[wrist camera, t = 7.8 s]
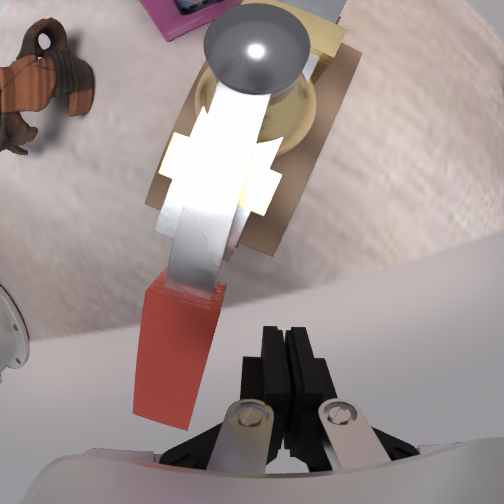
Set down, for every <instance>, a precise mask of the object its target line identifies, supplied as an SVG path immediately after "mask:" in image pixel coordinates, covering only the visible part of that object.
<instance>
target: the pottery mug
mask: <svg viewBox="0 0 504 504" xmlns="http://www.w3.org/2000/svg"><path fill="white" fill-rule="evenodd" d="M42 33H43V34H45V35H47V36H48V37H49V39H50V41H51V44H50V47H49V48H47V49H45V50H43V49H42V48H41V47H40V45H39V42H38V37H39V35H40V34H42ZM38 57H43V58H41V59H39V60H38ZM92 78H93V77H92V74H91V69H90V66H89V65H88V64H87V63H86V62H85V61H83V60H80V59H78V58H77V57H75V56H72V55H71V54H70V51H69V50H68V47H67V36H66V32H65V30H64V28H63V26H62V24H61V23H60V22H58V21H57V20H56V19H53V18H49V19H41V20H39V21H37V22H36V23H35V24H33V25H32V26H31V27H30V28H29V29H28V30H27V32H26V34H25V36H24V39H23V43H22V47H21V50H20V53H19V54H18V56H17V58H16V61H14V62H12V64H11V65H10V66H9V67H0V152H1V151H2V150H5V149H7V150H10V151H11V152H12V153H16V154H19V155H27V154H28V151H27V150H24V149H22V148H20V147H19V145H23V144H25V143H26V142H30V141H32V140H33V139H34V138H35V136H36V135H37V133H38V129H37V128H36V127H30V126H29V125H28V124H27V123H26V122H25V121H24V120H23V119H22V117H21V115H20V113H19V111H34V112H39V111H40V110H42V109H44V108H45V107H46V106H47V105H48V104H49V102H50V100H51V98H52V97H57V96H59V95H62V94H69V99H70V101H69V111H68V115H69V116H77V115H79V114H84V113H88V112H89V111H90V107H91V103H92V92H93V90H92V88H93V82H92Z"/></svg>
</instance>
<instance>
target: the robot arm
mask: <svg viewBox="0 0 504 504" xmlns="http://www.w3.org/2000/svg"><path fill="white" fill-rule="evenodd" d="M29 352H30V350H29V340H28V335H27V332H26V329H25V326H24V323H23V321H22V319H21V316H20V314H19V312H18V310H17V308H16V307H15V305H14V303H13V302H12V300H11V299H10V297H9V296H8V295H7V293H6V292H5V291H4V289H3V288H2V287H1V286H0V373H1V372H2V371H3V370H4V369H5V368H6V367H9V368H13V369H16V368H20V367H22V366H23V365H24V364H25V363H26V362H27V360H28V357H29ZM1 382H2V379H1V374H0V384H1ZM240 393H241V394H240V400H239V401H237V402H234V403H233V404H232V405H230V407H229V408H228V410H227V412H226V415H225V418H224V421H223V422H222V423H220V424H218V425H217V426H215V427H213V428H211V429H209V430H207V431H205V432H203V433H202V434H200V435H198V436H196V437H194V438H192V439H190V440H188V441H186V442H184V443H182V444H180V445H178V446H176V447H174V448H171V449H170V450H168V451H166V452H165V453H164V454H154V452H153V451H130V450H115V449H104V448H93V449H90V450H88V451H86V452H85V453H84V454H76V455H67V456H62V457H59V458H56V459H55V460H53V461H51V462H50V463H49V464H47V465H46V466H45V467H44V468H43V469H42V470H41V472H40V473H39V475H37V477H36V478H35V479H34V481H33V482H32V484H31V486H30V487H29V489H28V490H27V492H26V494H25V495H24V497H23V499H22V501H21V502H20V504H504V437H486V438H479V439H474V440H470V441H466V442H456V443H445V444H434V445H433V444H432V445H419V446H418V447H417V448H415V447H414V446H412V445H410V444H409V443H406V442H404V441H402V440H400V439H397V438H395V437H393V436H391V435H388V434H386V433H384V432H382V431H380V430H378V429H375V428H373V427H371V426H370V425H369V423H368V421H367V419H366V418H365V416H364V414H363V413H362V411H361V409H360V408H359V407H358V406H357V405H356V404H355V403H353V402H352V401H349V400H346V399H340V398H337V394H336V392H335V388H334V385H333V382H332V379H331V376H330V373H329V370H328V367H327V364H326V361H325V359H324V358H314V355H313V352H312V348H311V345H310V341H309V338H308V334H307V331H306V328H305V327H291V330H286V335H285V342H284V337H283V332H282V330H278V328H277V326H264V327H263V337H262V349H261V357H243V364H242V378H241V392H240ZM283 439H284V448H285V449H290V457H296V458H298V459H299V460H301V461H302V462H303V463H302V468H303V471H304V473H289V474H288V473H287V474H264V473H265V467H266V465H267V464H269V463H270V462H271V461H272V460H274V459H275V458H276V457H277V454H278V449H281V444H282V440H283Z"/></svg>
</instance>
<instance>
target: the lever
mask: <svg viewBox="0 0 504 504" xmlns="http://www.w3.org/2000/svg"><path fill="white" fill-rule="evenodd" d="M310 48H311V44H310V38H309V35H308V32H307V30H306V28H305V27H304V25H303V24H302V23H301V21H300V20H299V19H298V18H297V17H295V16H294V15H293V14H291V13H290V12H288V11H287V10H285V9H283V8H280V7H278V6H274V5H270V4H264V3H249V4H243V5H239V6H236V7H233V8H231V9H229V10H227V11H225V12H223V13H222V14H220V15H219V16H218V17H217V18H216V19H215V20H214V21H213V22H212V23H211V25H210V26H209V28H208V30H207V32H206V35H205V38H204V53H205V56H206V59H207V61H208V64H209V66H210V68H211V71H212V73H213V75H214V77H215V80H216V82H217V84H218V85H217V88H216V91H215V94H214V97H213V100H212V103H211V106H210V109H209V112H208V115H207V118H206V122H205V125H204V128H203V131H202V135H201V138H200V141H199V145H198V148H197V151H196V155H195V158H194V162H193V165H192V169H191V173H190V176H189V180H188V184H187V187H186V191H185V195H184V199H183V203H182V207H181V211H180V215H179V219H178V223H177V228H176V232H175V236H174V241H173V245H172V250H171V254H170V259H169V264H168V267H166V268H165V269H164V271H163V272H162V273H161V274H160V275H159V276H158V277H157V279H156V280H155V281H154V282H153V283H152V284H151V286H150V287H149V288H148V289H147V290H146V293H145V300H144V306H143V313H142V321H141V328H140V337H139V345H138V355H137V364H136V375H135V389H134V402H133V414H136V415H138V416H141V417H144V418H147V419H150V420H153V421H156V422H159V423H163V424H166V425H169V426H172V427H176V428H180V429H183V430H188V427H189V423H190V419H191V416H192V412H193V408H194V405H195V401H196V397H197V394H198V390H199V386H200V383H201V379H202V375H203V372H204V368H205V365H206V361H207V357H208V354H209V350H210V347H211V343H212V340H213V336H214V332H215V329H216V325H217V322H218V318H219V315H220V311H221V307H222V302H223V298H224V294H225V290H226V284H223V283H219V282H216V280H217V276H218V273H219V269H220V265H221V262H222V258H223V255H224V251H225V248H226V244H227V240H228V237H229V233H230V230H231V226H232V223H233V219H234V216H235V212H236V209H237V206H238V202H239V199H240V195H241V192H242V188H243V185H244V182H245V178H246V175H247V172H248V168H249V165H250V162H251V158H252V155H253V152H254V149H255V145H256V142H257V139H258V136H259V132H260V129H261V126H262V123H263V120H264V116H265V113H266V110H267V107H268V106H272V105H274V104H277V103H279V102H280V101H282V100H283V99H285V98H286V97H287V96H288V95H289V94H290V93H291V92H292V90H293V89H294V87H295V85H296V83H297V81H298V79H299V77H300V75H301V73H302V71H303V69H304V67H305V65H306V63H307V60H308V58H309V55H310Z"/></svg>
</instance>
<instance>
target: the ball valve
mask: <svg viewBox="0 0 504 504" xmlns="http://www.w3.org/2000/svg"><path fill="white" fill-rule="evenodd" d="M346 1H347V0H243V2H242V4H241V5H243V4H249V3H264V4H270V5H274V6H278V7H280V8H283V9H285V10H287V11H288V12H290V13H291V14H293V15H294V16H295V17H297V18H298V19H299V20H300V21H301V23H302V24H303V25H304V27H305V28H306V30H307V32H308V35H309V38H310V44H311V48H310V55H309V58H308V60H307V63H306V65H305V67H304V69H303V71H302V73H301V75H300V77H299V79H298V81H297V83H296V85H295V87H294V89H293V90H292V92H291V93H290V94H289V95H288V96H287V97H286V98H285V99H283V100H282V101H280V102H279V103H277V104H274V105H272V106H268V107H267V110H266V113H265V116H264V120H263V123H262V126H261V129H260V132H259V136H258V139H257V142H256V145H255V149H254V152H253V155H252V158H251V162H250V165H249V168H248V172H247V175H246V178H245V182H244V185H243V188H242V192H241V195H240V199H239V202H238V206H237V209H236V212H235V216H234V219H233V223H232V226H231V230H230V233H229V237H228V240H227V244H226V248H225V251H224V255H223V258H222V259H223V260H225V261H227V262H229V260H230V258H231V256H232V253H233V251H234V249H235V246H236V244H237V242H238V239H239V237H240V235H241V232H242V230H243V228H244V225H245V223H246V221H247V218H248V216H249V214H250V211H254V212H256V213H258V214H261V215H263V216H264V214H265V212H266V210H267V208H268V205H269V203H270V201H271V198H272V196H273V194H274V192H275V189H276V187H277V185H278V183H279V180H280V178H281V176H282V175H281V174H279V173H276V172H274V171H272V170H269V168H270V166H271V163H272V161H273V159H274V157H277V156H280V155H282V154H284V153H286V152H288V151H290V150H291V149H293V148H294V147H295V146H296V145H298V144H299V143H300V142H301V141H302V140H303V139H304V137H305V136H306V134H307V133H308V132H309V130H310V128H311V126H312V124H313V121H314V119H315V114H316V106H317V99H316V92H315V88H314V85H315V83H316V82H317V81H318V79H319V78H320V76H321V75H322V74H323V72H324V71H325V70H326V68H327V67H328V65H329V64H330V63H331V61H332V60H333V59H334V57H335V55H336V53H337V50H338V48H339V46H340V44H341V42H342V39H343V37H344V35H345V33H346V30H347V29H345V28H343V27H341V26H338V25H336V22H337V19H338V17H339V15H340V13H341V11H342V9H343V7H344V5H345V3H346ZM217 85H218V84H217V82H216V80H215V77H214V75H213V73H212V71H211V68H210V66H209V67H208V68H207V69H206V71H205V72H204V74H203V75H202V77H201V79H200V81H199V83H198V86H197V90H196V94H195V111H196V116H197V121H196V124H195V126H194V128H193V131H192V133H191V135H190V137H186V136H183V135H181V134H178V133H174V135H173V138H172V140H171V142H170V145H169V147H168V150H167V152H166V155H165V157H164V160H163V162H162V165H161V168H160V170H159V173H160V174H162V175H165V176H167V177H170V178H172V179H173V180H172V182H171V185H170V187H169V190H168V193H167V196H166V198H165V201H164V204H163V207H162V210H161V212H160V215H159V218H158V221H157V224H156V227H155V230H154V231H156V232H158V233H160V234H163V235H165V236H168V237H170V238H172V239H174V236H175V232H176V228H177V223H178V219H179V215H180V211H181V207H182V203H183V199H184V195H185V191H186V187H187V184H188V180H189V176H190V173H191V169H192V165H193V162H194V158H195V155H196V151H197V148H198V145H199V141H200V138H201V135H202V131H203V128H204V125H205V122H206V118H207V115H208V112H209V109H210V106H211V103H212V100H213V97H214V94H215V91H216V88H217Z"/></svg>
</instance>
